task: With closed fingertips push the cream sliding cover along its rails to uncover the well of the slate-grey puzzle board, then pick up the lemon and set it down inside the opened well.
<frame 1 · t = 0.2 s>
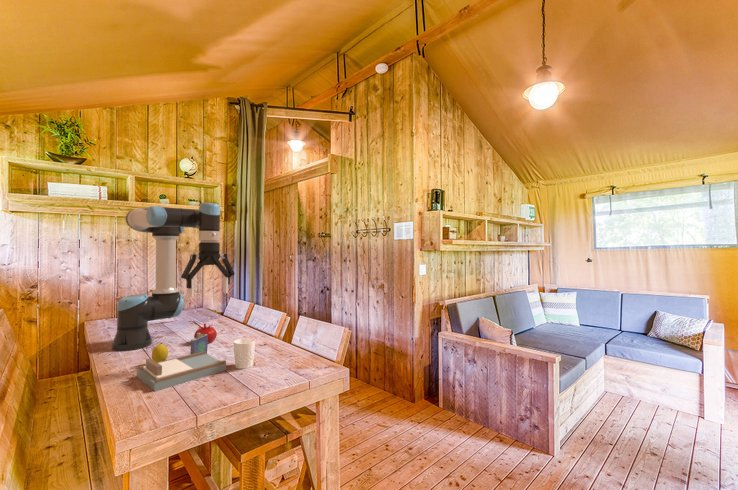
hand: (209, 294, 133), 28 cm above the table, fingers open, 13 cm apart
blue-grey curved piece: (198, 358, 140), on the table
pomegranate: (205, 342, 162), on the table
slide cover: (167, 364, 120), point 5 cm above the table, slide at 0.0 cm
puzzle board: (182, 373, 123), on the table
lemon: (159, 364, 133), on the table
white cup: (244, 366, 132), on the table
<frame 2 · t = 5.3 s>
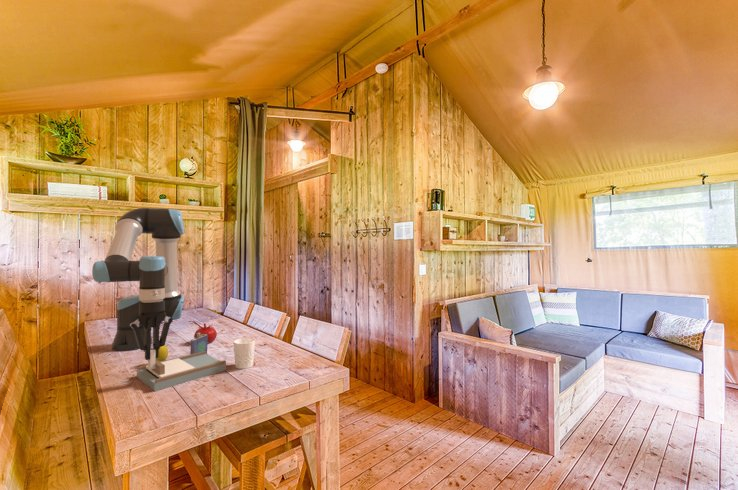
hand: (151, 368, 116), 5 cm above the table, fingers closed
slide cover: (170, 363, 120), point 5 cm above the table, slide at 0.9 cm, touching gripper
everything else where it was.
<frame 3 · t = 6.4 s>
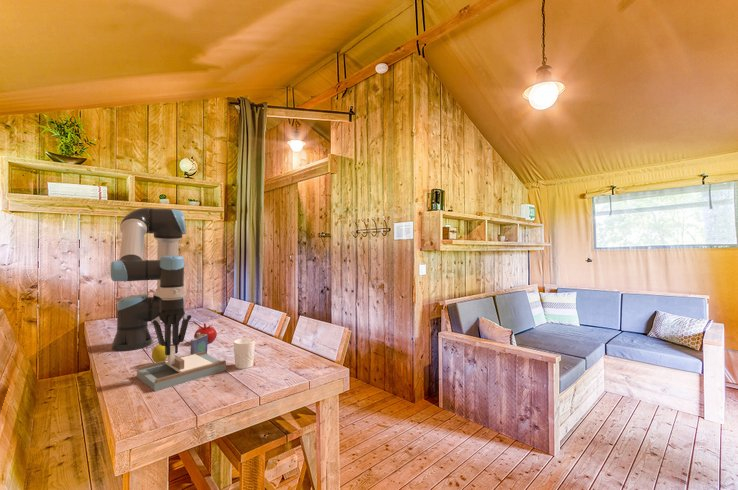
hand: (171, 363, 120), 5 cm above the table, fingers closed
slide cover: (188, 359, 125), point 5 cm above the table, slide at 7.1 cm, touching gripper
everything else where it was.
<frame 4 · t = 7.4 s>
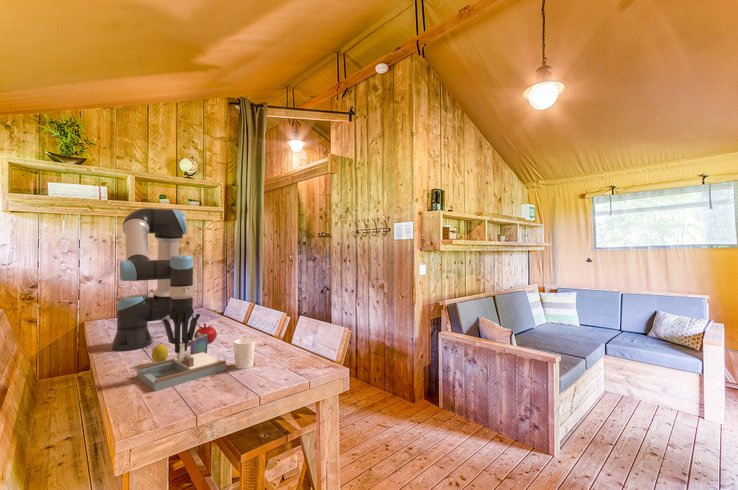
hand: (180, 360, 123), 5 cm above the table, fingers closed
slide cover: (197, 357, 127), point 5 cm above the table, slide at 10.3 cm, touching gripper
everything else where it was.
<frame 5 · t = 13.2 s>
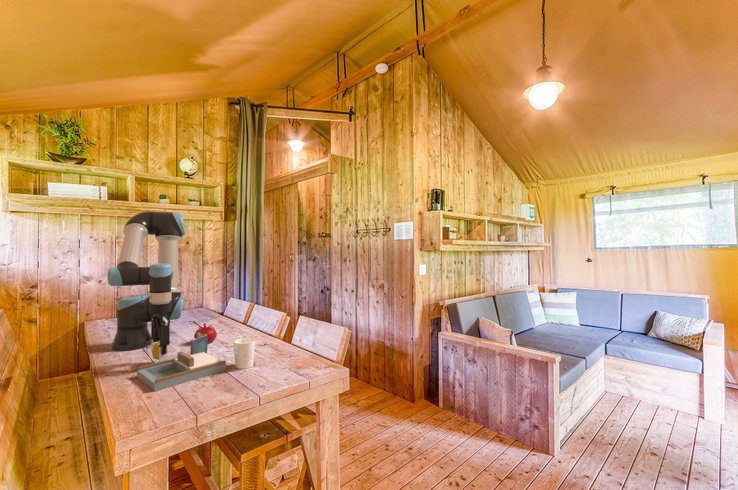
hand: (160, 359, 133), 1 cm above the table, fingers closed on lemon, 5 cm apart
slide cover: (197, 357, 128), point 5 cm above the table, slide at 10.4 cm
lemon: (160, 361, 133), point 1 cm above the table, touching gripper
everything else where it was.
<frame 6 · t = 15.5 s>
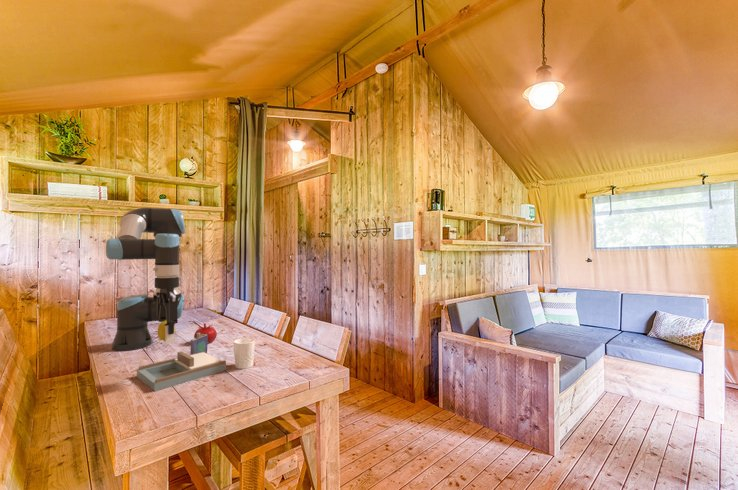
hand: (166, 341, 119), 13 cm above the table, fingers closed on lemon, 5 cm apart
lemon: (166, 342, 119), point 13 cm above the table, touching gripper
everything else where it was.
when the fingers open (1 cm above the table, at t = 17.8 s): lemon stays where it is, resting on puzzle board.
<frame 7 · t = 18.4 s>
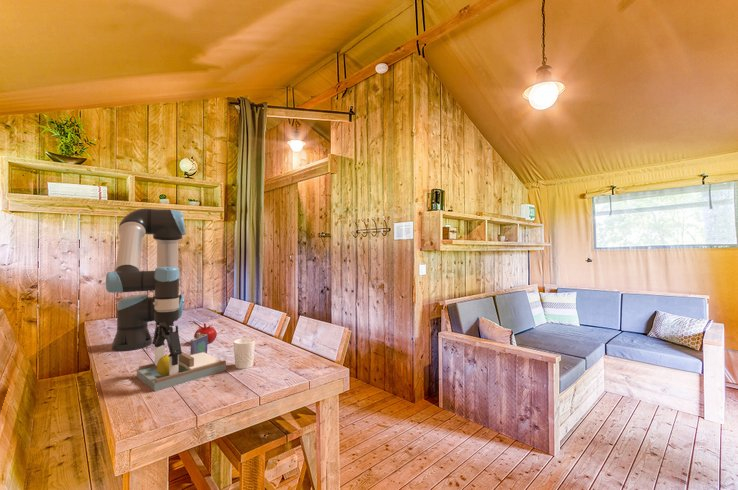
hand: (166, 369, 119), 3 cm above the table, fingers open, 13 cm apart
lemon: (166, 377, 119), resting on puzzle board
everything else where it was.
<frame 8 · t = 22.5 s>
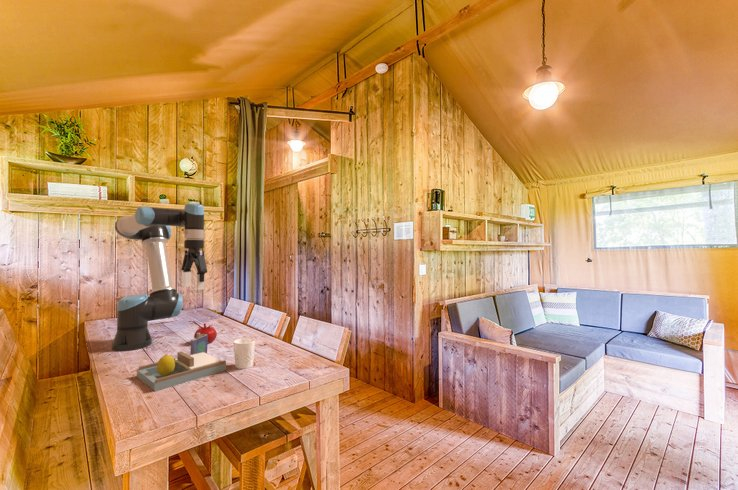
hand: (193, 288, 145), 29 cm above the table, fingers open, 13 cm apart
nothing on the table moved.
at the end: slide cover slide at 10.4 cm; lemon inside the target area (0.5 cm from its centre), resting on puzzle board; the gripper is holding nothing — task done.
